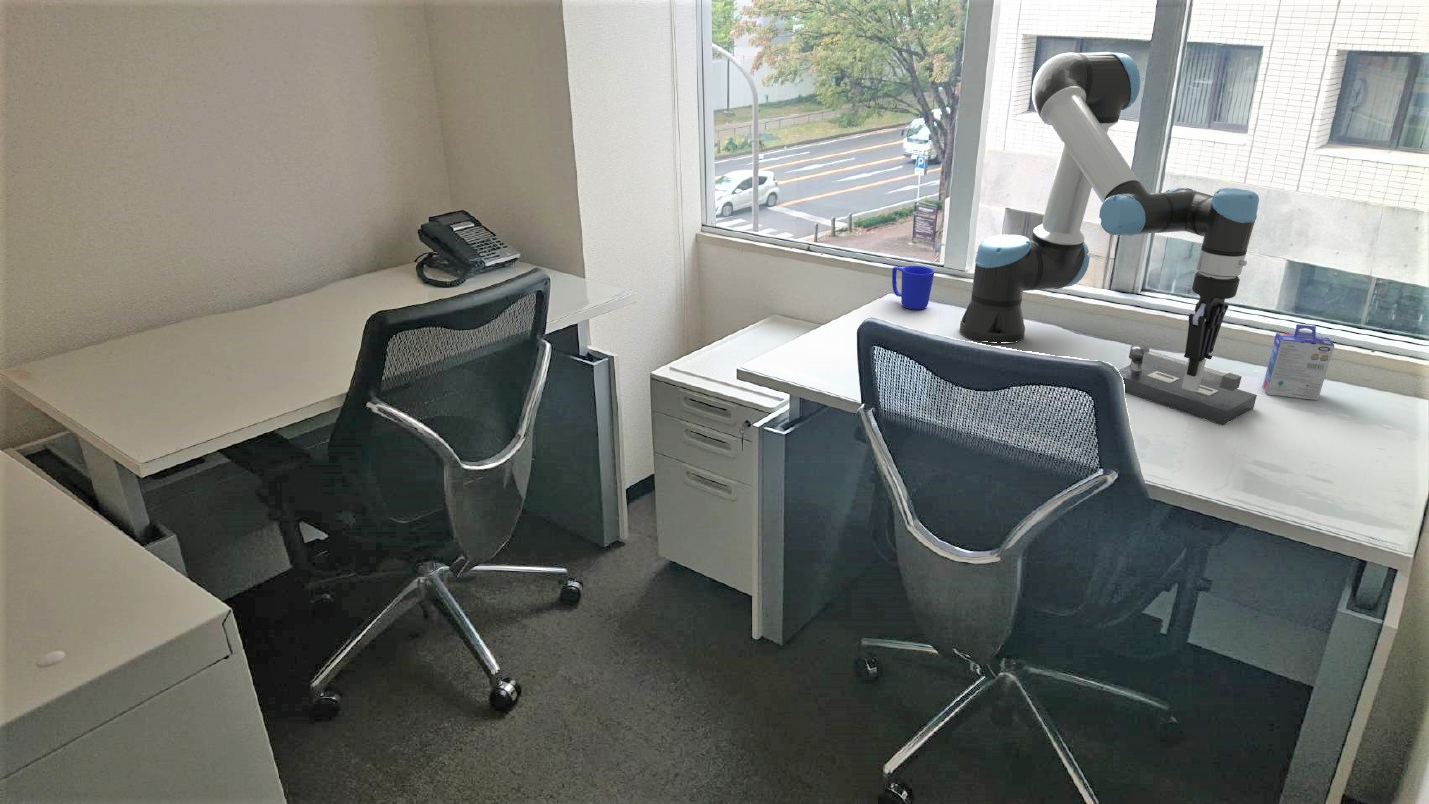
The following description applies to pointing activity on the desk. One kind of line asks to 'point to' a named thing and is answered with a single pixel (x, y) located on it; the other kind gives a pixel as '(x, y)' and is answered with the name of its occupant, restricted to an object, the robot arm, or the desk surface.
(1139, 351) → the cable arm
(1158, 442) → the desk surface
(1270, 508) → the desk surface
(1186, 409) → the slab
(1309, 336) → the ink cartridge box
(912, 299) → the mug
